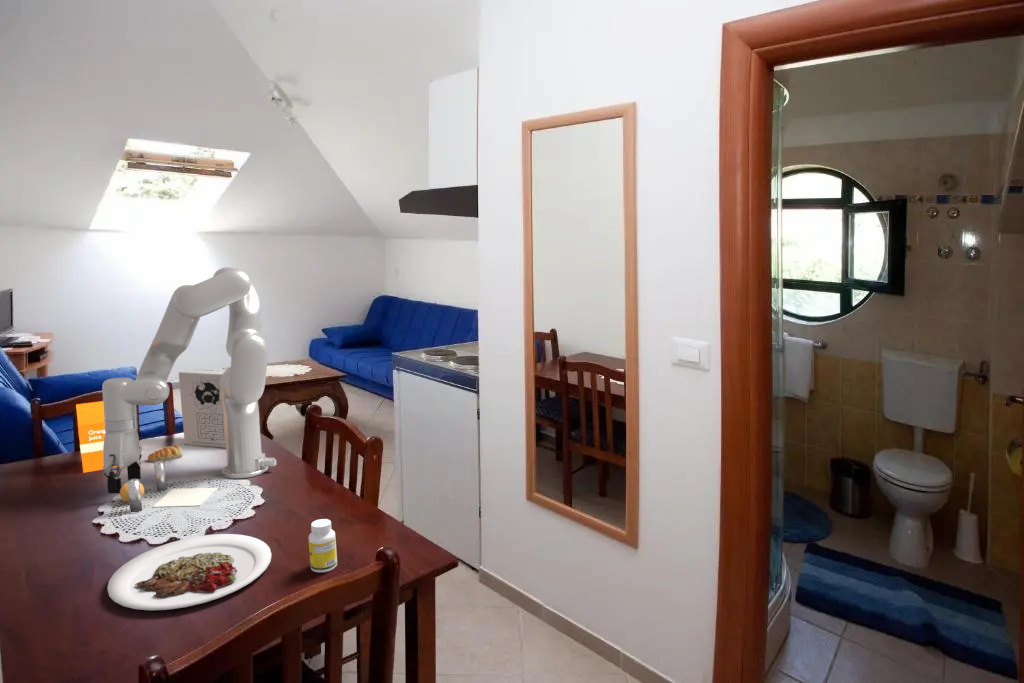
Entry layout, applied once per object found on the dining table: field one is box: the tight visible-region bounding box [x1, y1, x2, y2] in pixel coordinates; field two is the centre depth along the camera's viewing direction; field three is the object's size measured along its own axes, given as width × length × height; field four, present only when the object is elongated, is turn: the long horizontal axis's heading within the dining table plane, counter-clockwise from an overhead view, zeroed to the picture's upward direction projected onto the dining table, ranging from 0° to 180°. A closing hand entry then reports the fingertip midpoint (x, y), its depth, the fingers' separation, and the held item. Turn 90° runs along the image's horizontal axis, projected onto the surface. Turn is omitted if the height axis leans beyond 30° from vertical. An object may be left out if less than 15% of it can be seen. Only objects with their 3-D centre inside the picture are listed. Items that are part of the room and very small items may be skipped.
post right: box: [153, 461, 168, 493], centre depth 176 cm, size 3×3×8 cm
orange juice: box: [75, 400, 119, 474], centre depth 194 cm, size 8×9×20 cm
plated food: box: [107, 533, 272, 611], centre depth 132 cm, size 30×30×3 cm
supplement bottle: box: [308, 518, 338, 574], centre depth 134 cm, size 5×5×10 cm
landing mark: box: [151, 487, 219, 508], centre depth 171 cm, size 12×12×1 cm
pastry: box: [147, 444, 183, 463], centre depth 202 cm, size 9×7×4 cm
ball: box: [119, 482, 145, 503], centre depth 169 cm, size 6×6×6 cm
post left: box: [127, 479, 143, 513], centre depth 162 cm, size 3×3×8 cm
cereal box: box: [178, 367, 228, 449], centre depth 215 cm, size 22×8×25 cm, turn 77°
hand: (124, 486), depth 173 cm, fingers open, 9 cm apart
